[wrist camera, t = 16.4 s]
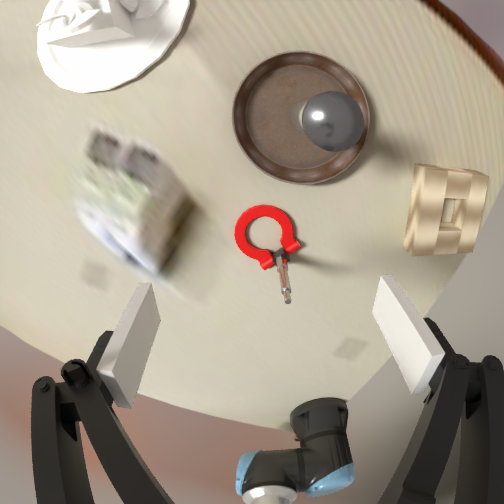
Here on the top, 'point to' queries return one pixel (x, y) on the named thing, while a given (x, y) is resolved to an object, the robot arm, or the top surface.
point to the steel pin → (328, 120)
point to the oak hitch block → (431, 205)
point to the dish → (105, 40)
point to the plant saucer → (277, 123)
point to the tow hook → (265, 256)
